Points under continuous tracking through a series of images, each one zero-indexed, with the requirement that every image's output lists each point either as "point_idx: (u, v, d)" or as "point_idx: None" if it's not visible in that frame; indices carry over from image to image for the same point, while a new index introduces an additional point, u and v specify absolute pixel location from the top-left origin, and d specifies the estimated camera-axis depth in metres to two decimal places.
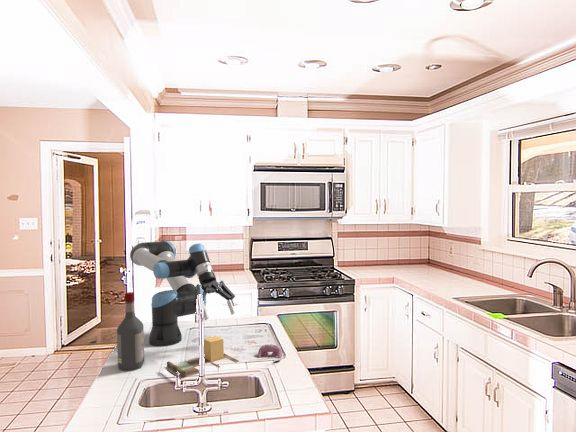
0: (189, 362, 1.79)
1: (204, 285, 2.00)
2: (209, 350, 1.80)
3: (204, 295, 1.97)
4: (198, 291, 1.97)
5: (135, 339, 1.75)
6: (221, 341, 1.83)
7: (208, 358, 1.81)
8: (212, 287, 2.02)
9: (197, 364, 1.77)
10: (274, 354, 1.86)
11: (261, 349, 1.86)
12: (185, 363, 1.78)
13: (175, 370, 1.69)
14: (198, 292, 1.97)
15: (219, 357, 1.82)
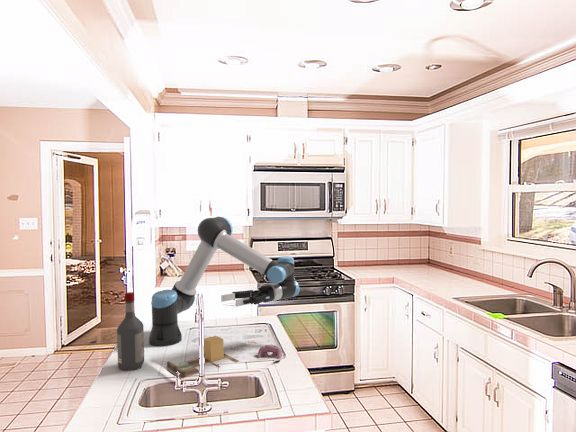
0: (189, 362, 1.79)
1: None
2: (209, 350, 1.80)
3: None
4: None
5: (135, 339, 1.75)
6: (221, 341, 1.83)
7: (208, 358, 1.81)
8: None
9: (197, 364, 1.77)
10: (274, 354, 1.85)
11: (261, 349, 1.85)
12: (185, 363, 1.78)
13: (175, 370, 1.69)
14: None
15: (219, 357, 1.82)
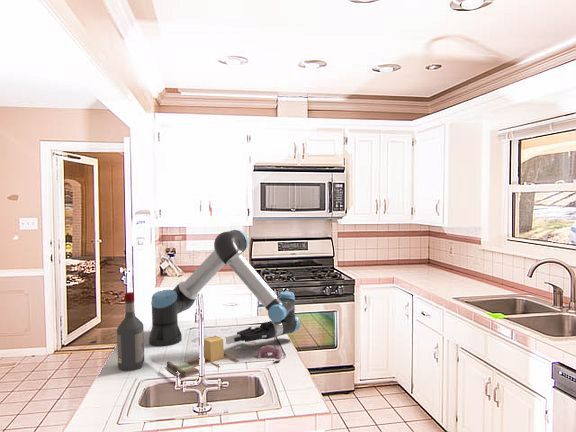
0: (189, 362, 1.79)
1: None
2: (209, 350, 1.80)
3: None
4: None
5: (135, 339, 1.75)
6: (221, 341, 1.83)
7: (208, 358, 1.81)
8: None
9: (197, 364, 1.77)
10: (274, 355, 1.85)
11: (261, 350, 1.85)
12: (185, 363, 1.78)
13: (175, 370, 1.69)
14: None
15: (219, 357, 1.82)
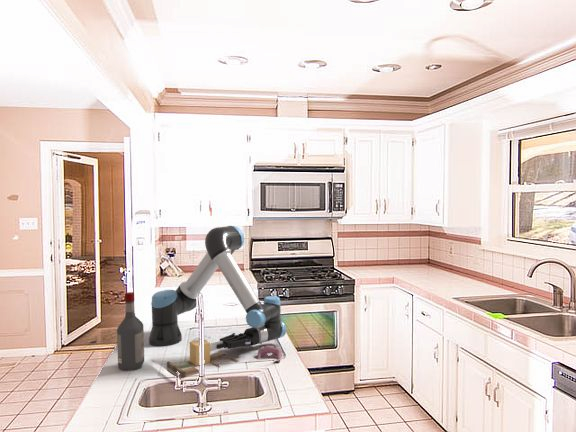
0: (189, 362, 1.79)
1: None
2: (195, 354, 1.76)
3: None
4: None
5: (135, 339, 1.75)
6: (207, 345, 1.78)
7: (194, 362, 1.77)
8: None
9: None
10: (274, 355, 1.84)
11: (261, 350, 1.84)
12: (185, 363, 1.78)
13: (175, 370, 1.69)
14: None
15: (205, 361, 1.78)
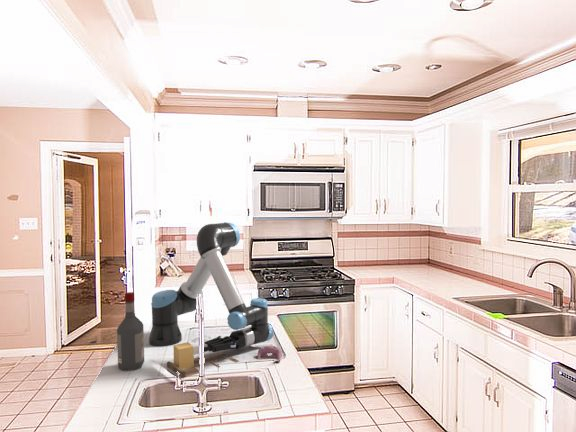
0: None
1: None
2: (178, 358, 1.72)
3: None
4: None
5: (135, 339, 1.75)
6: (191, 348, 1.74)
7: (177, 366, 1.73)
8: None
9: (197, 364, 1.77)
10: (274, 355, 1.84)
11: (261, 350, 1.84)
12: None
13: (175, 370, 1.69)
14: None
15: (189, 365, 1.74)
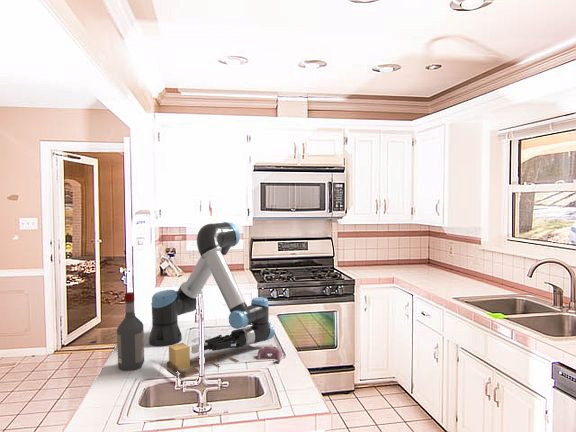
0: None
1: None
2: (174, 358, 1.71)
3: None
4: None
5: (135, 339, 1.75)
6: (187, 349, 1.74)
7: None
8: None
9: (197, 364, 1.77)
10: (274, 356, 1.84)
11: (260, 351, 1.84)
12: None
13: (175, 370, 1.69)
14: None
15: (185, 366, 1.73)
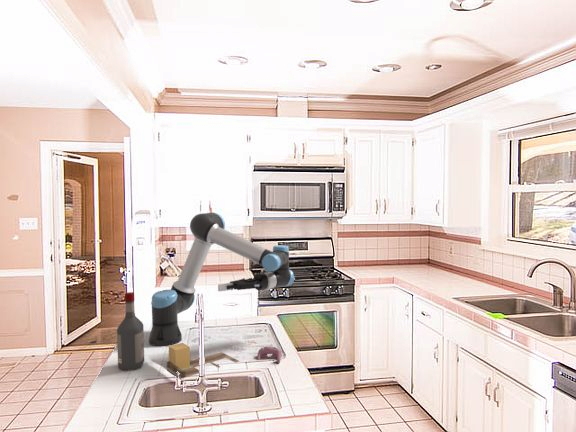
0: None
1: None
2: (174, 358, 1.71)
3: None
4: None
5: (135, 339, 1.75)
6: (187, 349, 1.74)
7: None
8: None
9: (197, 364, 1.77)
10: (274, 356, 1.83)
11: (260, 351, 1.83)
12: None
13: (175, 370, 1.69)
14: None
15: (185, 366, 1.73)
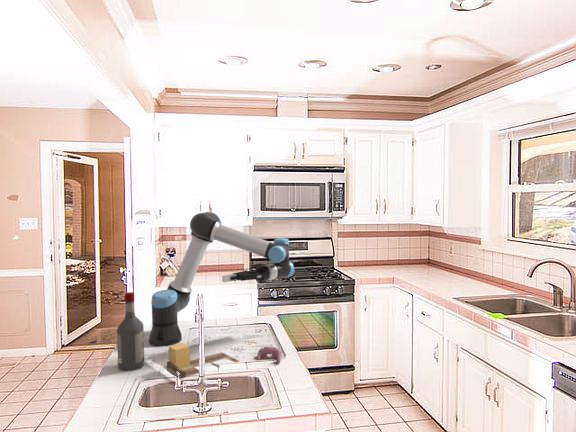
0: None
1: None
2: (174, 358, 1.71)
3: None
4: None
5: (135, 339, 1.75)
6: (187, 349, 1.74)
7: None
8: None
9: (197, 364, 1.77)
10: (273, 356, 1.83)
11: (260, 351, 1.83)
12: None
13: (175, 370, 1.69)
14: None
15: (185, 366, 1.73)
